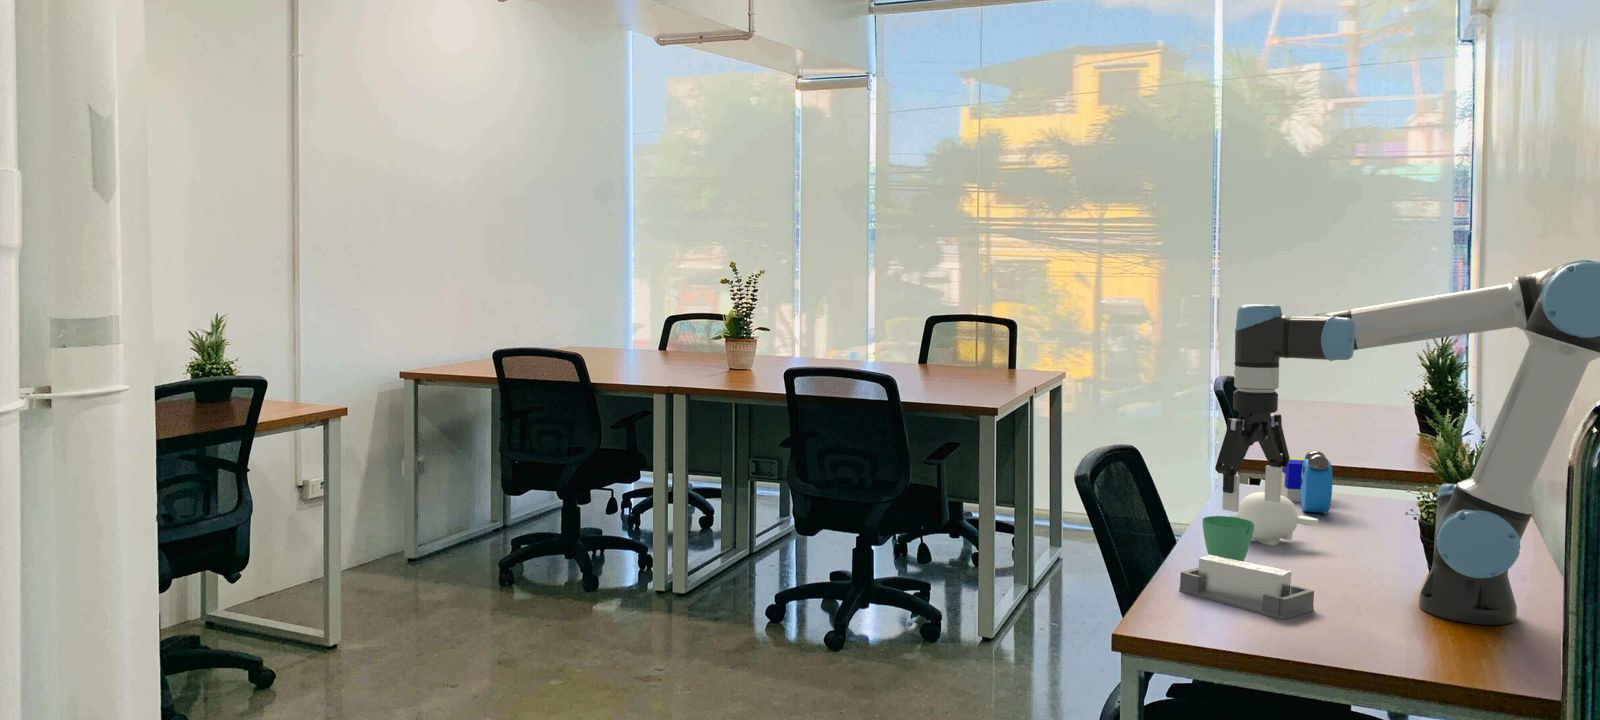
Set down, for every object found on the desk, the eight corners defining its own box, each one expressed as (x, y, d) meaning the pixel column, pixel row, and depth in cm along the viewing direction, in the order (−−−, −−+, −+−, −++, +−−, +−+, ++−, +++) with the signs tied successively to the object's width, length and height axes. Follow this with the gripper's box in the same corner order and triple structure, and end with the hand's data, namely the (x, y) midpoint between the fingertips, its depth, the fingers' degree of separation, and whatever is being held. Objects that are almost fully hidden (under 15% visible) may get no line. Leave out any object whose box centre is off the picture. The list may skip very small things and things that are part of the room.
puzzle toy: (1287, 501, 302) (1289, 463, 302) (1277, 493, 312) (1279, 457, 311) (1327, 503, 301) (1329, 465, 300) (1317, 495, 311) (1319, 458, 310)
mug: (1248, 579, 227) (1250, 529, 226) (1196, 572, 231) (1198, 523, 230) (1257, 562, 239) (1260, 515, 238) (1208, 556, 244) (1210, 509, 243)
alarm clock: (1330, 518, 282) (1334, 458, 281) (1303, 516, 284) (1306, 456, 283) (1324, 508, 295) (1328, 449, 293) (1298, 505, 297) (1301, 448, 295)
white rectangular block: (1289, 603, 209) (1291, 571, 208) (1280, 608, 206) (1282, 575, 205) (1207, 585, 220) (1208, 554, 219) (1197, 589, 217) (1199, 558, 216)
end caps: (1313, 610, 207) (1314, 590, 207) (1283, 620, 201) (1284, 599, 201) (1209, 582, 224) (1210, 564, 224) (1178, 590, 218) (1179, 572, 218)
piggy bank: (1244, 553, 253) (1309, 558, 255) (1258, 506, 249) (1324, 511, 250) (1221, 524, 265) (1283, 528, 266) (1234, 479, 260) (1297, 484, 262)
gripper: (1274, 383, 220) (1270, 494, 221) (1196, 392, 204) (1193, 510, 206) (1312, 387, 214) (1307, 500, 215) (1235, 396, 199) (1231, 518, 200)
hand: (1251, 506), depth 211 cm, fingers open, 13 cm apart
